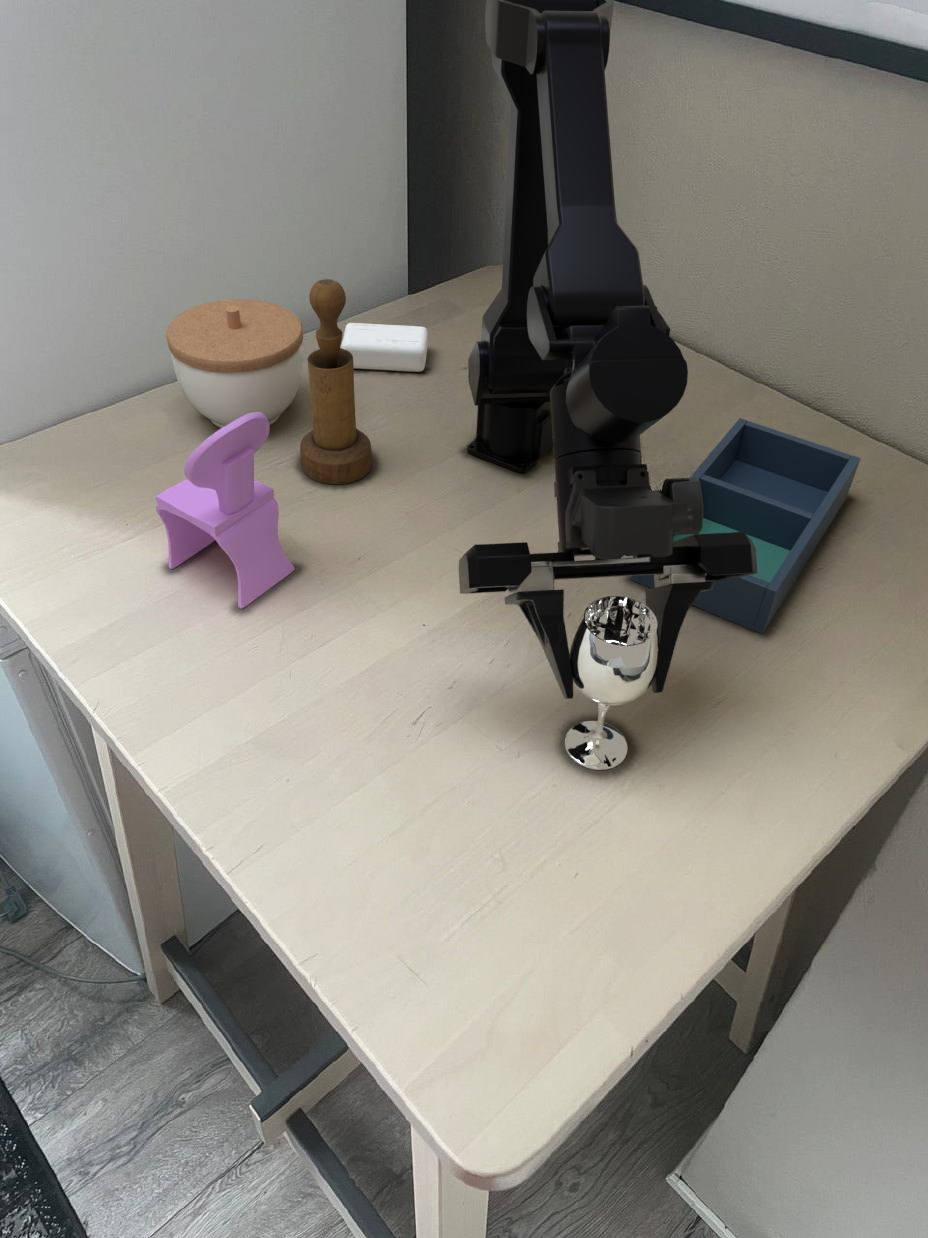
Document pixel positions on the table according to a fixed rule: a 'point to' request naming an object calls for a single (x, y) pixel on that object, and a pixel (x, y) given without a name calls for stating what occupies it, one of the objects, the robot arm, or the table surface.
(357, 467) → the mortar and pestle
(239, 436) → the toy chair
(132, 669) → the table surface
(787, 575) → the divided storage tray
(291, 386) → the lidded bowl
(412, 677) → the table surface
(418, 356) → the soap
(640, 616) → the wineglass
